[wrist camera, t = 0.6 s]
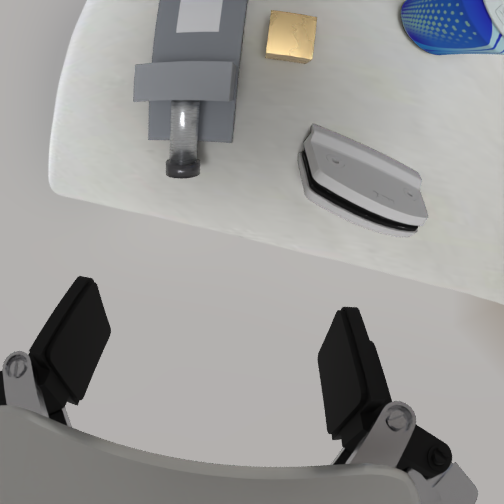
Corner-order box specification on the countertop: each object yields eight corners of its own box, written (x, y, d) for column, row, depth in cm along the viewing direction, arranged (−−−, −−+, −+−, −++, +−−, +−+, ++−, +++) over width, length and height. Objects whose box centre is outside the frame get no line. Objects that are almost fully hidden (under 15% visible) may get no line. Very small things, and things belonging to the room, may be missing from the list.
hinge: (420, 173, 32) (445, 226, 25) (402, 196, 35) (420, 251, 29) (309, 122, 29) (314, 168, 23) (295, 153, 33) (295, 206, 27)
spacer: (269, 20, 23) (271, 10, 19) (309, 26, 23) (317, 17, 19) (265, 58, 25) (266, 52, 22) (305, 63, 26) (312, 59, 22)
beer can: (390, -6, 19) (463, -42, 5) (441, 6, 18) (520, -9, 4) (402, 51, 23) (489, 42, 9) (452, 59, 22) (539, 66, 9)
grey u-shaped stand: (166, -22, 19) (150, -39, 14) (250, -25, 19) (249, -45, 14) (151, 138, 31) (131, 148, 25) (232, 141, 31) (226, 151, 26)
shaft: (175, 74, 25) (164, 72, 22) (209, 73, 25) (202, 71, 22) (171, 167, 31) (161, 177, 28) (202, 169, 31) (195, 179, 28)
